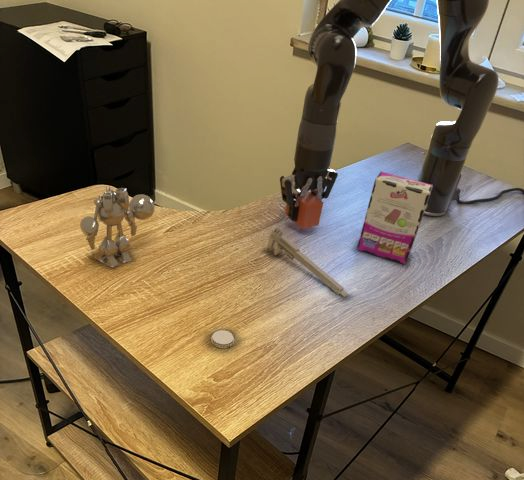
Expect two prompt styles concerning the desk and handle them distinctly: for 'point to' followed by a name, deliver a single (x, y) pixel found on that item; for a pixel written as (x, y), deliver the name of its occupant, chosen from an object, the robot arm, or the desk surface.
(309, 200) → the block
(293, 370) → the desk surface
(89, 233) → the robot toy
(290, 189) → the robot arm
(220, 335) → the ridged bottle cap
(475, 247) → the desk surface
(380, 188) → the candy bar box
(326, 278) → the caliper
